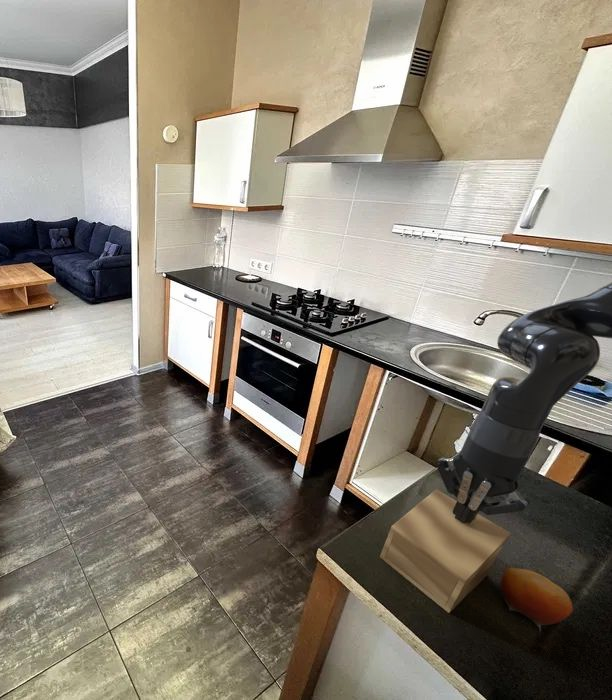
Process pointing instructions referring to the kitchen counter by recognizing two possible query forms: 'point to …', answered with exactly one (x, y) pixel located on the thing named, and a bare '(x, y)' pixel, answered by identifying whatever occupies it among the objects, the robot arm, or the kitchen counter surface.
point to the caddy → (431, 572)
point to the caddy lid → (450, 536)
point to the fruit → (535, 596)
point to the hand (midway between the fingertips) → (461, 519)
